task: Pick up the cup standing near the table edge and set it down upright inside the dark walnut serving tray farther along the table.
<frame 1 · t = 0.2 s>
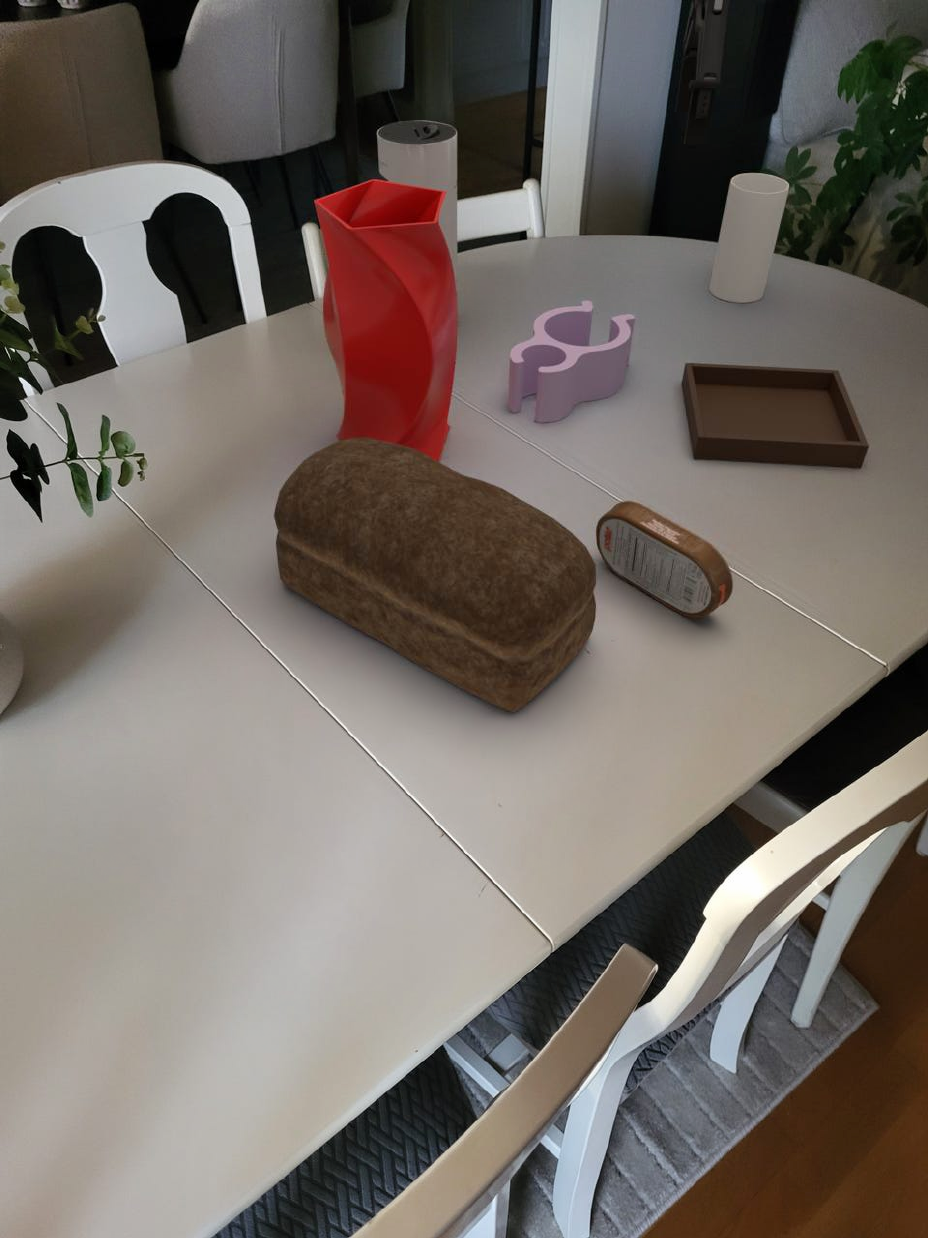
hand: (689, 127, 125), 25 cm above the table, tool pointing down, fingers open, 13 cm apart
bread: (431, 612, 93), on the table
vase: (392, 444, 114), on the table
tin: (653, 592, 95), on the table
speaker: (422, 322, 137), on the table
clip: (566, 385, 124), on the table
cup: (736, 292, 145), on the table
tray: (766, 423, 118), on the table
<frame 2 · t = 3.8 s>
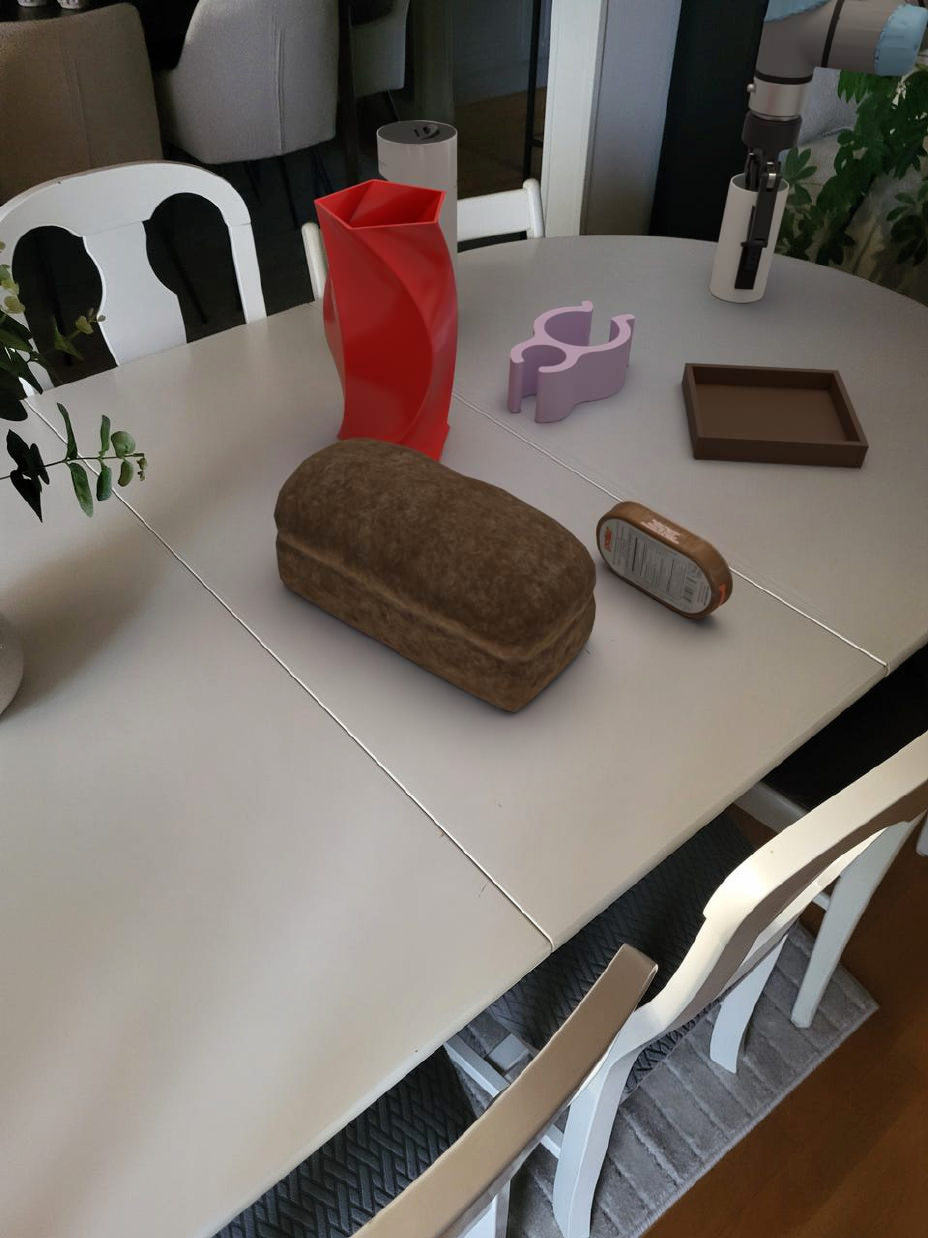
hand: (739, 275, 143), 2 cm above the table, tool pointing down, fingers closed on cup, 8 cm apart
cup: (736, 292, 145), on the table, touching gripper
everything else where it was.
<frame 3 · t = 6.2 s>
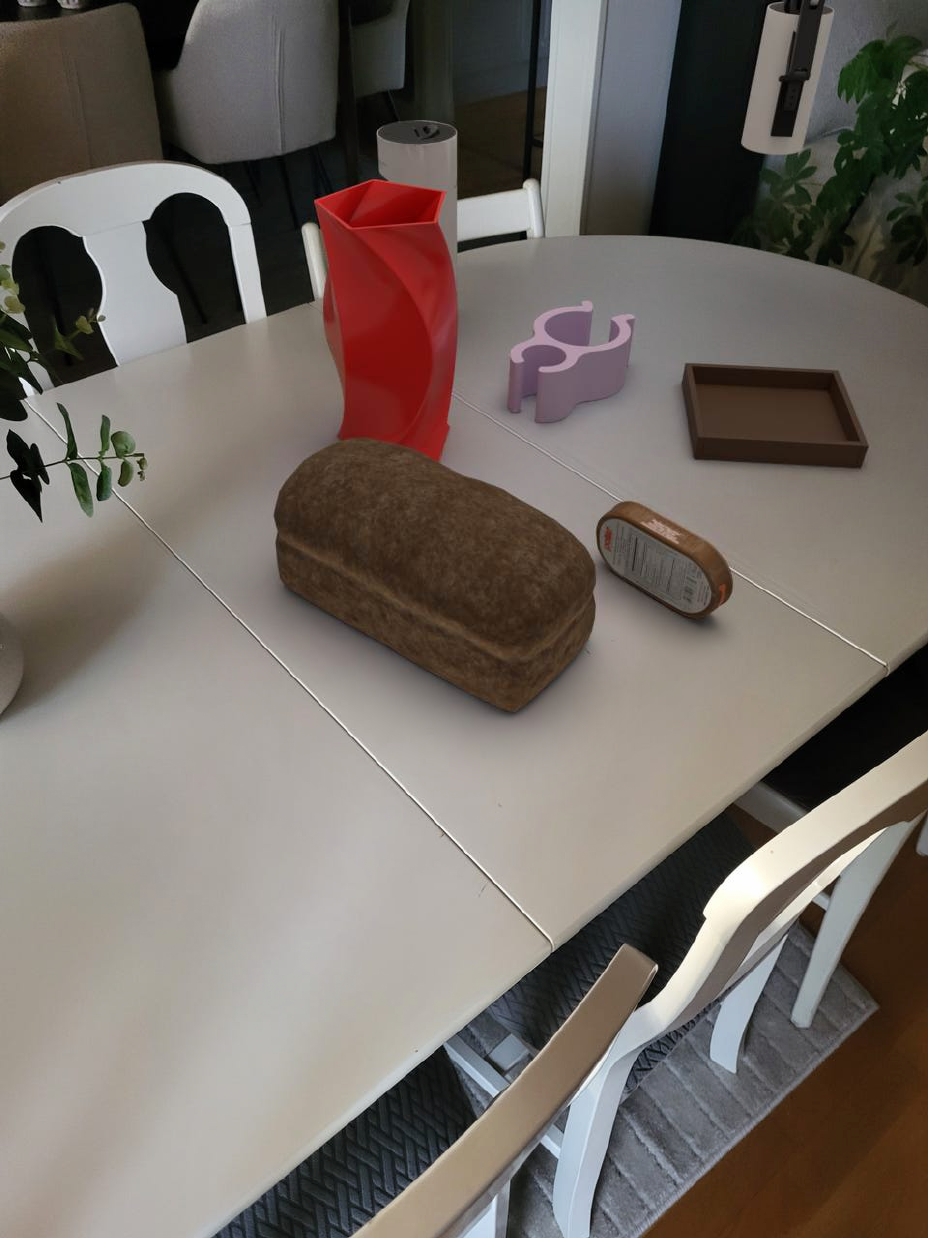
hand: (776, 125, 127), 24 cm above the table, tool pointing down, fingers closed on cup, 8 cm apart
cup: (771, 146, 129), point 21 cm above the table, touching gripper
everything else where it was.
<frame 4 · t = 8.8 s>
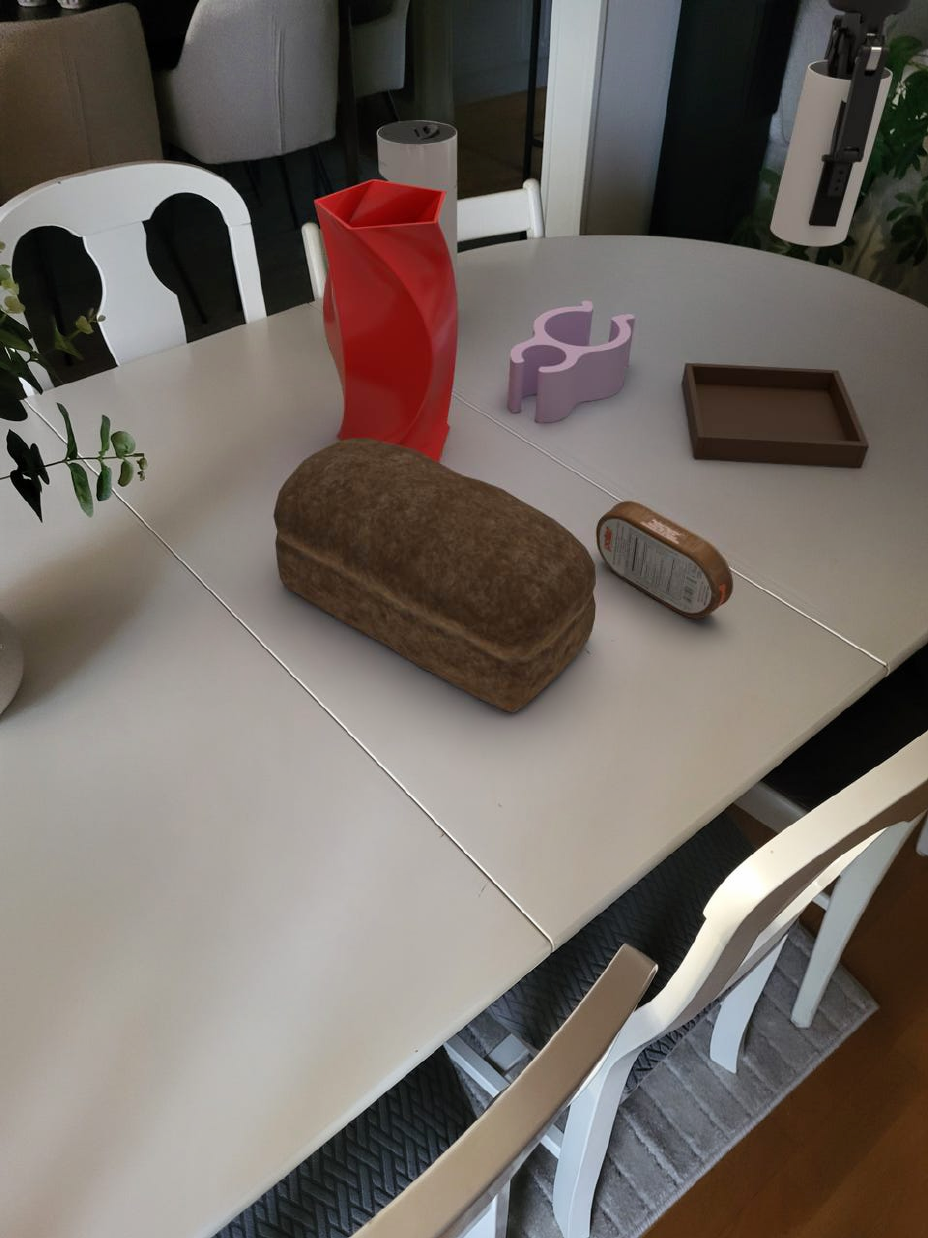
hand: (814, 208, 103), 25 cm above the table, tool pointing down, fingers closed on cup, 8 cm apart
cup: (807, 233, 105), point 22 cm above the table, touching gripper
everything else where it was.
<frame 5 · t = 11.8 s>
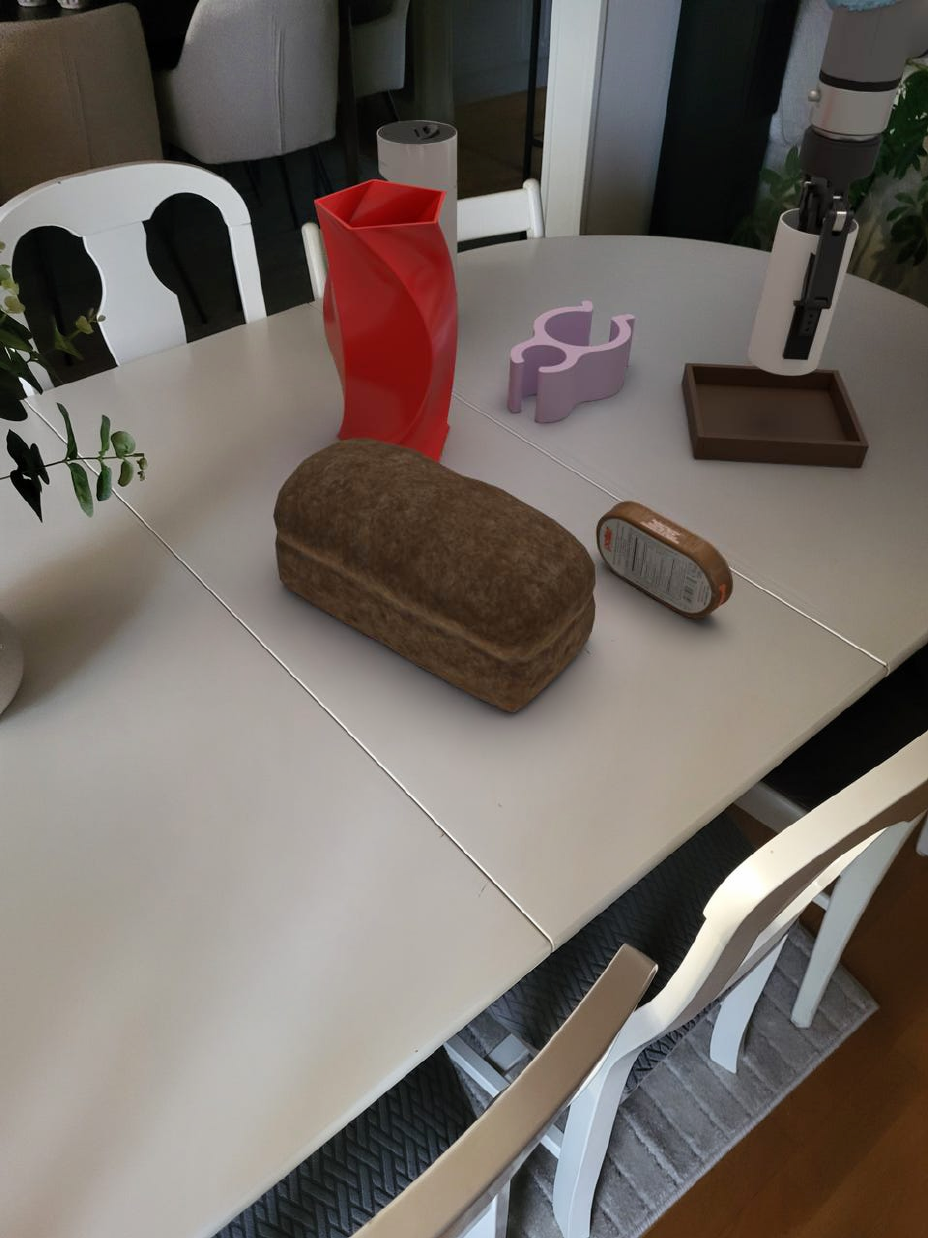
hand: (788, 338, 110), 11 cm above the table, tool pointing down, fingers closed on cup, 8 cm apart
cup: (782, 359, 112), point 9 cm above the table, touching gripper
everything else where it was.
when the fingers open (3 cm above the table, at t = 14.2 s): cup stays where it is, resting on tray.
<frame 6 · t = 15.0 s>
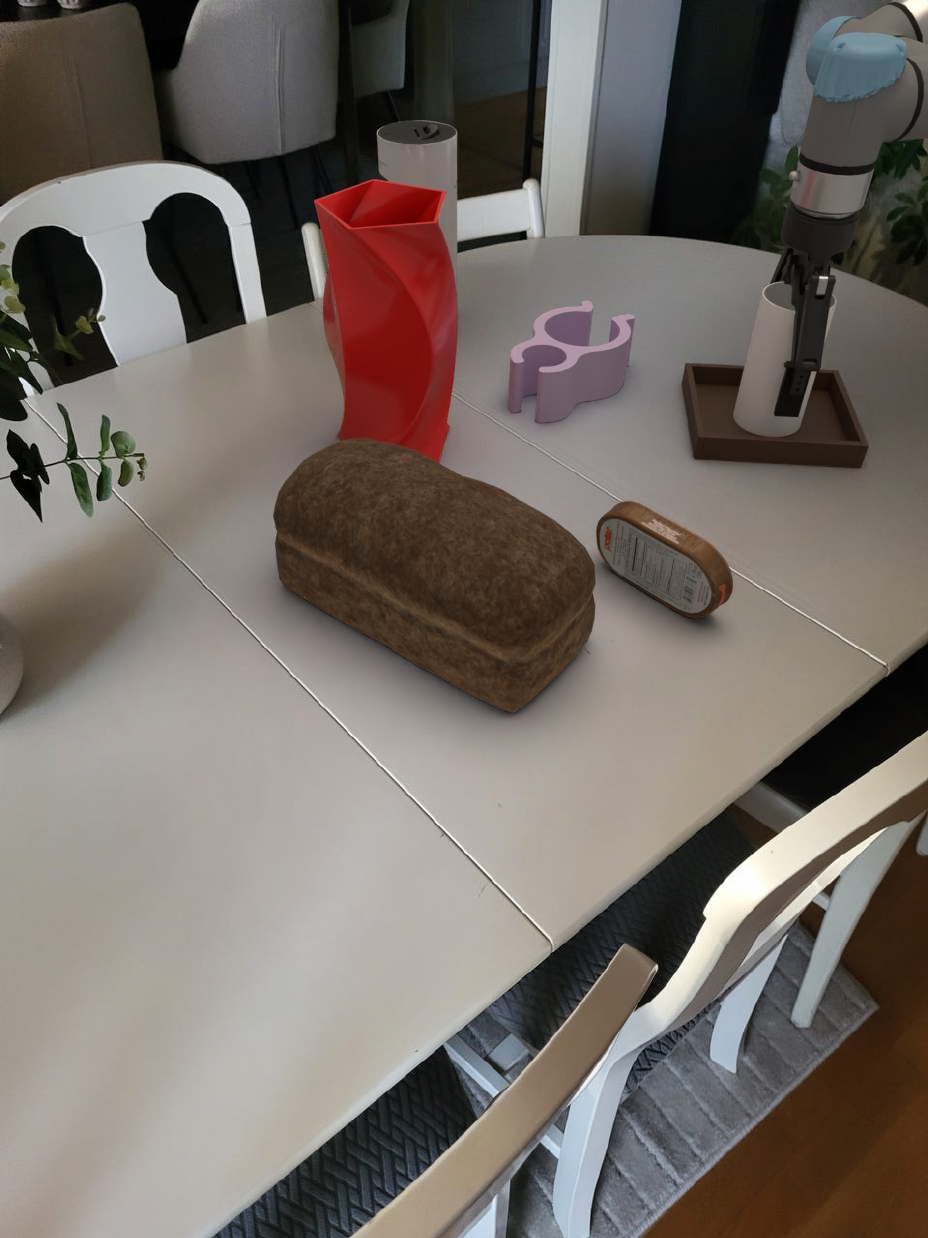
hand: (776, 385, 114), 5 cm above the table, tool pointing down, fingers open, 13 cm apart
cup: (766, 420, 118), resting on tray
everything else where it was.
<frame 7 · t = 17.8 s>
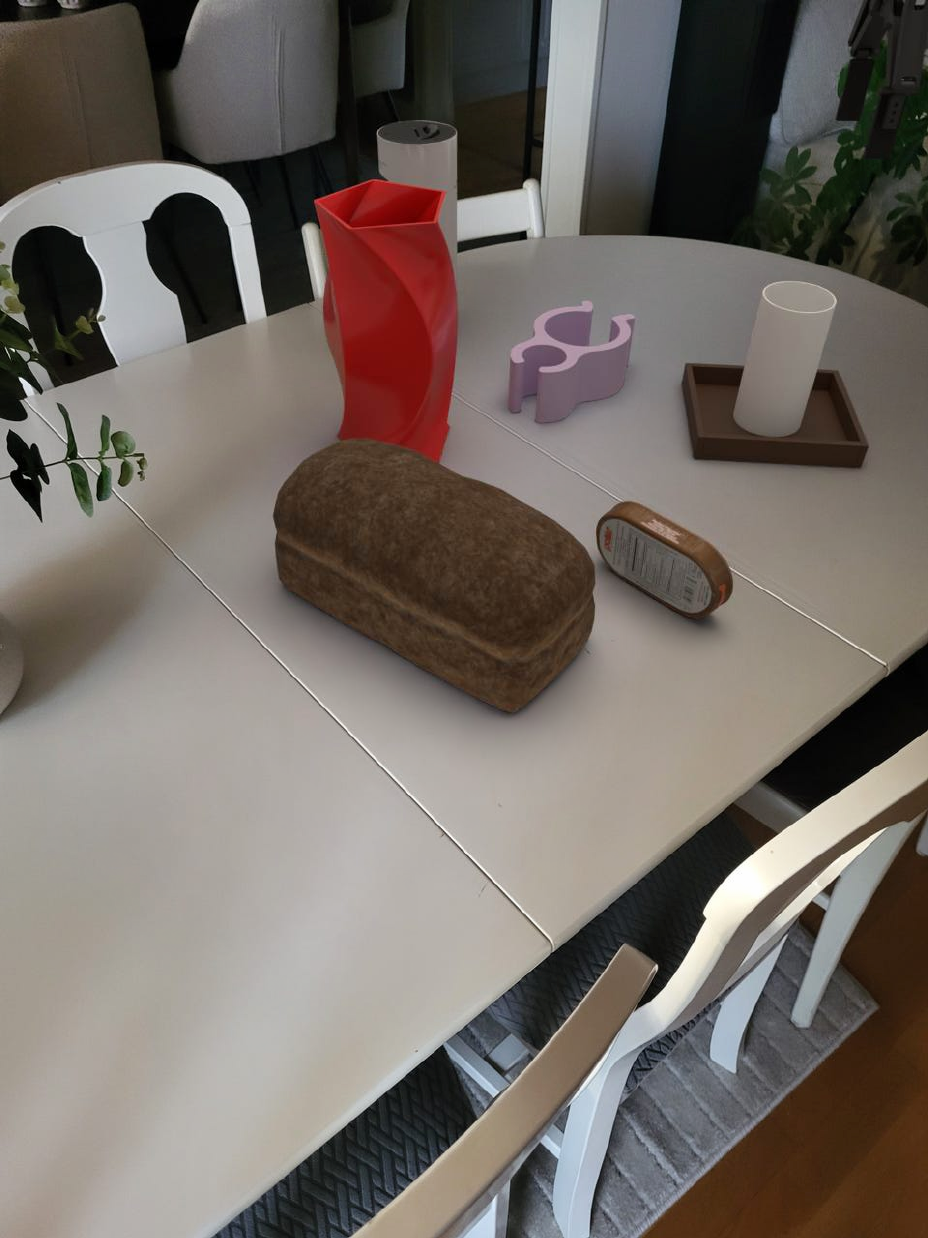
hand: (861, 138, 110), 28 cm above the table, tool pointing down, fingers open, 13 cm apart
nothing on the table moved.
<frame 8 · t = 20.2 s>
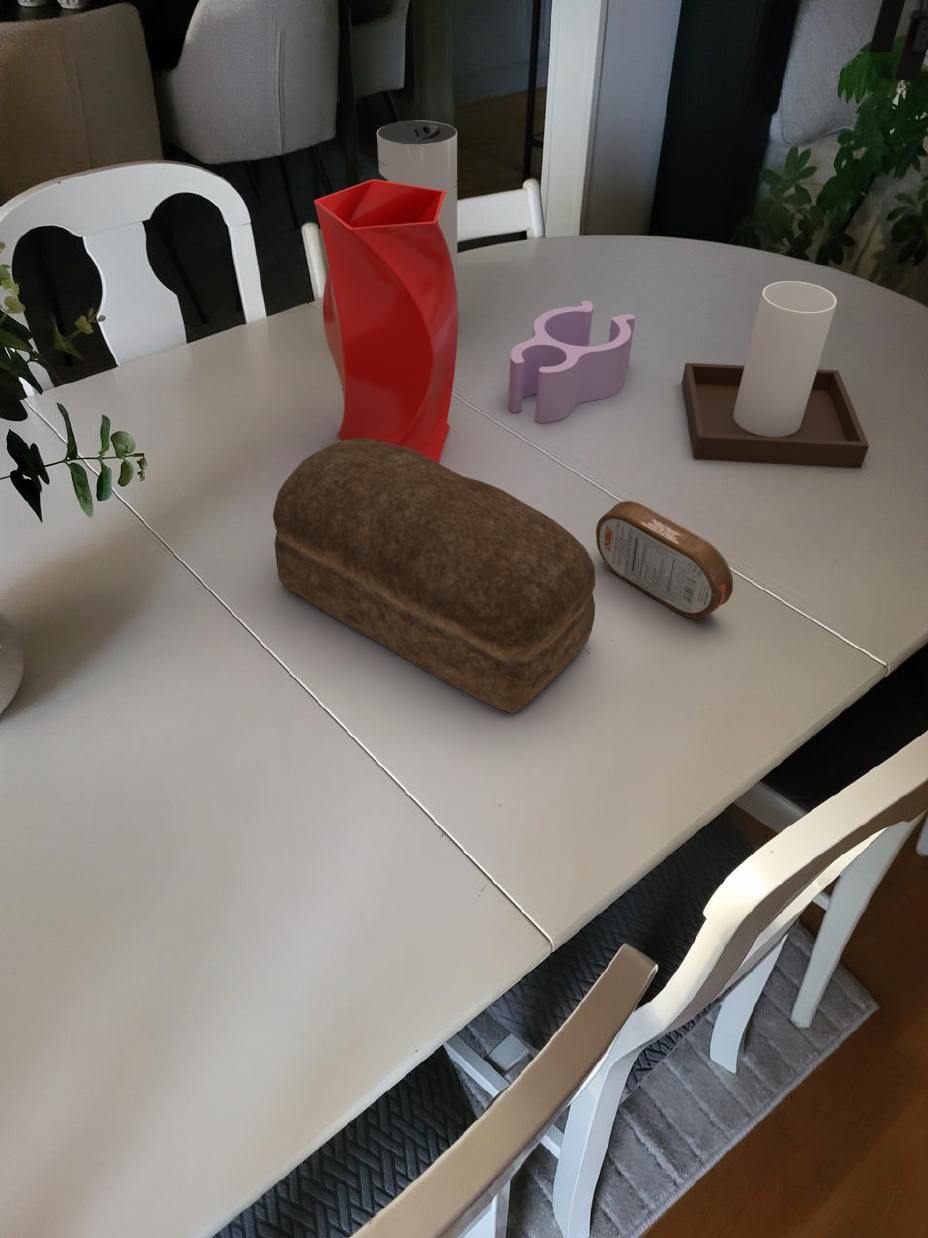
hand: (891, 65, 121), 32 cm above the table, tool pointing down, fingers open, 13 cm apart
nothing on the table moved.
at the end: cup inside the target area in the tray (0.1 cm from its centre), point 0.4 cm above the tray's base; cup tilted 0°; the gripper is holding nothing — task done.
